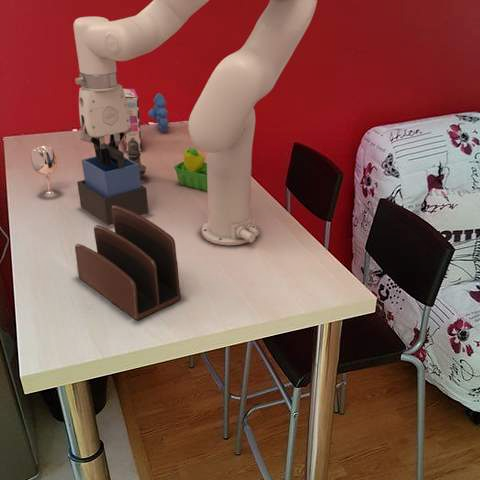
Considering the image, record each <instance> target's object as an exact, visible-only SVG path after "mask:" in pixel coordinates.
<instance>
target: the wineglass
mask: <svg viewBox="0 0 480 480" xmlns="http://www.w3.org/2000/svg"><path fill="white" fill-rule="evenodd" d="M30 155H31V158H30V159H31V165H32V169H33V170H34V171H35V172H36V173H37V174H40V175H44V179H45V181H46V186H47V191H46V192H45V195H53V194H54V193H55V192H54V191H53V190H52V189H51V186H50V176H49V175H50V174H51V175H52V174H53V173H54V172H55V171H56V170H57V167H58V160H57V156H56V154H55V151H54V149H53V147H52V146H48V145H39V146H34V147H33V148H32V149H31V154H30Z"/></svg>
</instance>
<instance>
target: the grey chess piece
mask: <svg viewBox="0 0 480 480" xmlns="http://www.w3.org/2000/svg"><path fill="white" fill-rule="evenodd" d="M127 145H128V152H127V154H126V156H127V159H129V160H131V161H133V162H135V163H137V164H139V171H140V179H141V178H143V176H145V174H146V170H147V166H145V164H142V162H141V156H142V153H141V152H140V151H139V144H138V142H137V141H134V140H133V137H132V140H131V141H129V142H128V144H127Z"/></svg>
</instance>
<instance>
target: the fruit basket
mask: <svg viewBox="0 0 480 480" xmlns="http://www.w3.org/2000/svg"><path fill="white" fill-rule="evenodd" d="M173 169H174V170H175V172H176V176H177V179H178V182H179V184H180V185H182V186H187V187H190V188H194V189H198V190H202V191H205V192H208V189H207V162H205V156H204V154H202V153H200V152H199V151H198V150H197V149H196V148H194V147H189V148H187V149H185V151H184V152H183V161H182V162H180V163H177V164H175V165H174V166H173Z"/></svg>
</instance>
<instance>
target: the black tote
mask: <svg viewBox="0 0 480 480" xmlns="http://www.w3.org/2000/svg"><path fill="white" fill-rule="evenodd" d="M77 190H78V197H79V202H80V203H79V204H80V207H81V208H82V209H83V210H84V211H86V212H88V213H89V214H90V215H92V216H93V217H94V218H96V219H98V220H99V221H100V222H102V223H103V224H105V225H106V226H112V225H114V222H113V216H112V206H113V205H115V206H119V207H122V208H125V209H127V210H129V211H132V212H134V213H136V214H138V215H140V216H143V215H147V214H149V204H148V203H149V201H148V191H147V187H146V186H144V185H142V184H141V188H139V189H135V190H132V191H128V192H125V193H121V194H117V195H114V196H110V197H107V198H106V197H104V196H102V195H101V194H99V193H98V192H96V191H95V190H93V189H91V188H90V187H88V186H87V185H86V184H85V179H82V180H78V181H77Z"/></svg>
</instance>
